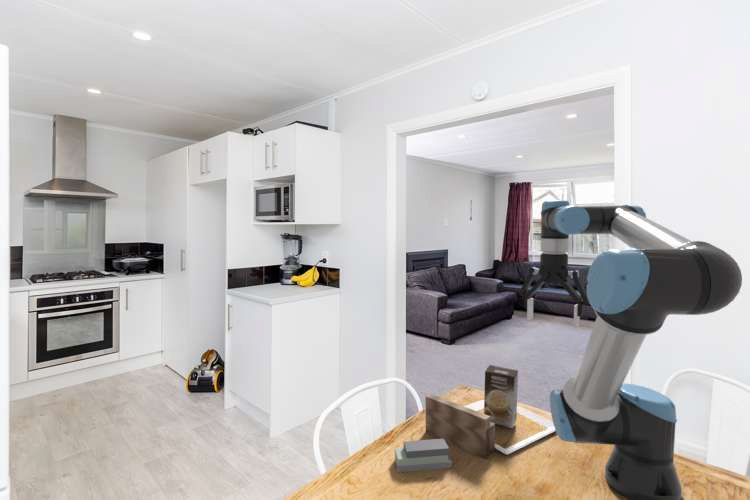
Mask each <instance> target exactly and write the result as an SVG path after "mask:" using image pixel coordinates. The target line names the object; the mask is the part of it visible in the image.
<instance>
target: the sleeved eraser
mask: <svg viewBox="0 0 750 500" xmlns="http://www.w3.org/2000/svg"><path fill="white" fill-rule="evenodd" d="M449 455H450V448H449V446H448V444H447V441H445V440H444V439H441V438H434V439H431V438H430V439H422V440H420V439H419V440H408V441H407V440H406V441H405V440H404V441H403V447H400V448H398V447H397V448H394V462H395V465H396V468H397V472H398V473H403V472H404V473H405V472H415V471H428V470H429V471H430V470H438V469H439V470H441V469H449V468H450V469H452V468H453V467H452V466H453V462H452V460H451V457H450V456H449Z"/></svg>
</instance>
